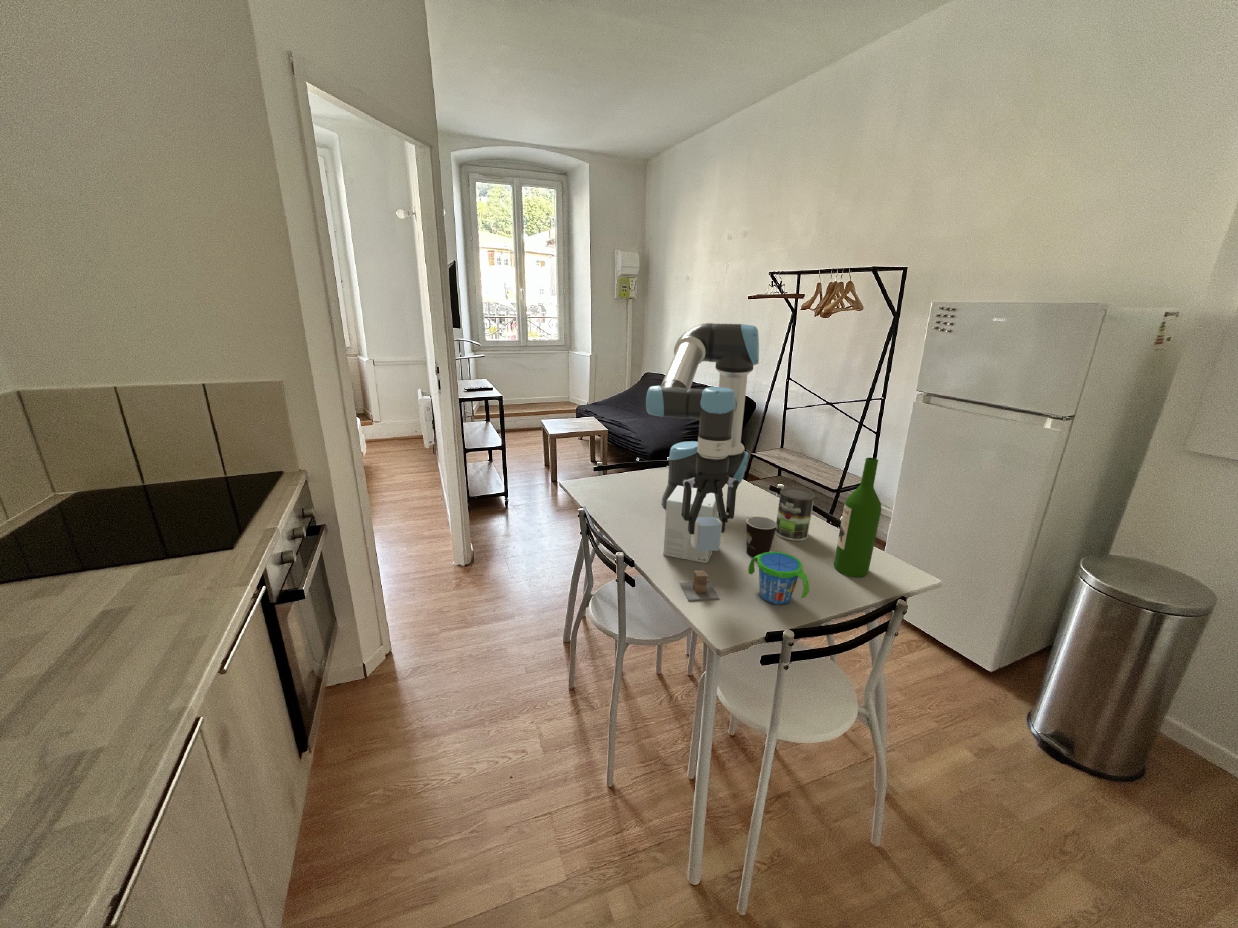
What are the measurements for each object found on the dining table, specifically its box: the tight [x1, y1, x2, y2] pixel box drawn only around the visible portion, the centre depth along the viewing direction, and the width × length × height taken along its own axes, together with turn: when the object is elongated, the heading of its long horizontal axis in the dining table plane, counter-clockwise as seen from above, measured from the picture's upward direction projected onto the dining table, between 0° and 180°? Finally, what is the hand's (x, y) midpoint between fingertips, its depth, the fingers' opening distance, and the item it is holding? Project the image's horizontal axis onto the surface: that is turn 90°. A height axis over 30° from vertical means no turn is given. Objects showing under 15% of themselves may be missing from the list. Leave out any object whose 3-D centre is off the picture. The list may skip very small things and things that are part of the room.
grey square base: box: [679, 569, 720, 602], centre depth 125 cm, size 8×8×5 cm
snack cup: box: [747, 551, 810, 605], centre depth 122 cm, size 16×10×10 cm
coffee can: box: [775, 487, 816, 542], centre depth 157 cm, size 10×10×14 cm
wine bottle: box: [833, 457, 882, 578], centre depth 133 cm, size 9×9×32 cm
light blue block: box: [696, 517, 722, 552], centre depth 121 cm, size 5×5×7 cm
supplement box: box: [662, 485, 718, 564], centre depth 144 cm, size 13×13×18 cm
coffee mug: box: [745, 515, 777, 558], centre depth 145 cm, size 12×9×10 cm
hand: (705, 544), depth 122 cm, fingers closed on light blue block, 5 cm apart
